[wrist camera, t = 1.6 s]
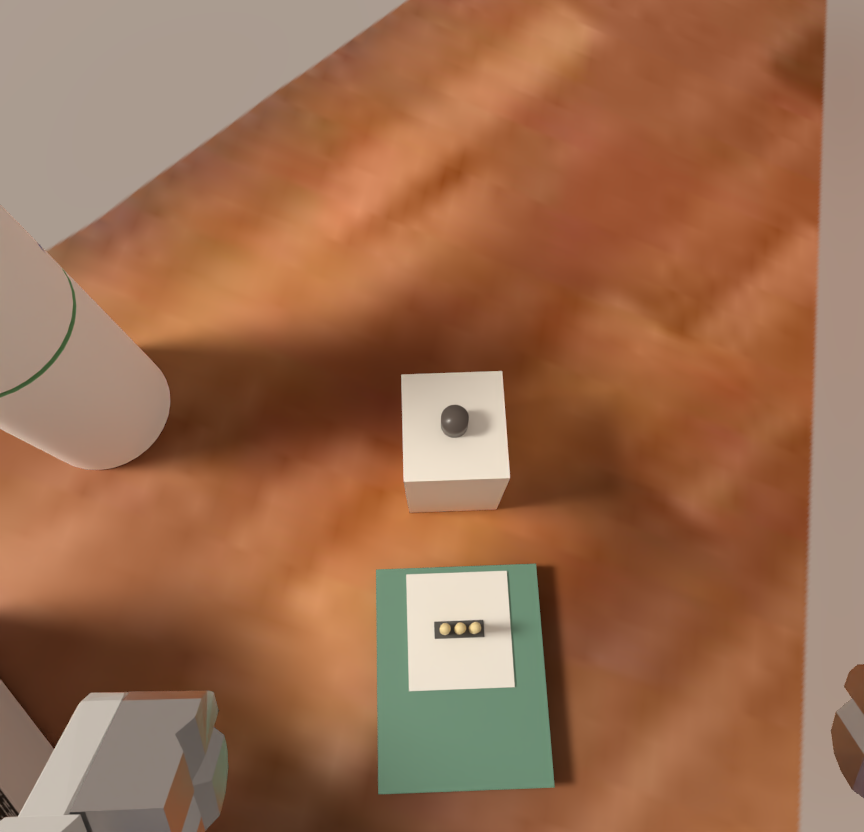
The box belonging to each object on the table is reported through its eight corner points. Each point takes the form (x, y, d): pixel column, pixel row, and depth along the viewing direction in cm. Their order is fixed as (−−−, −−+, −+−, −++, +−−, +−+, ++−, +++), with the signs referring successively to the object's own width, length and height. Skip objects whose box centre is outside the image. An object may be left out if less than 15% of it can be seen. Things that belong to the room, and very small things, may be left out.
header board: (550, 783, 32) (563, 797, 29) (379, 790, 32) (374, 804, 29) (533, 566, 36) (542, 557, 32) (377, 571, 36) (372, 564, 32)
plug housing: (496, 509, 37) (512, 472, 29) (409, 512, 37) (402, 476, 29) (490, 419, 38) (504, 362, 31) (406, 422, 38) (400, 365, 31)
